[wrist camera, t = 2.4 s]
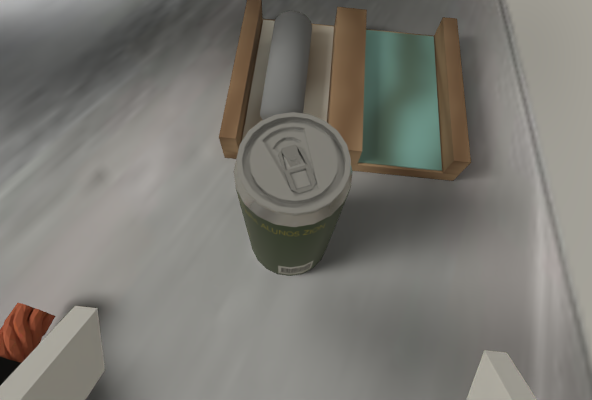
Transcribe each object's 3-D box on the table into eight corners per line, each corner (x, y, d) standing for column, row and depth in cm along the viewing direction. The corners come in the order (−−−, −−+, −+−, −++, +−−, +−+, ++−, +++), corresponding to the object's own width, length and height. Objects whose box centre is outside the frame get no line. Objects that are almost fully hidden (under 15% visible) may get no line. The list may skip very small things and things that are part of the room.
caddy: (224, 157, 30) (218, 136, 27) (250, 26, 35) (247, -2, 32) (453, 180, 30) (470, 162, 27) (443, 45, 35) (456, 18, 32)
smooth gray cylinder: (305, 127, 29) (298, 101, 26) (266, 128, 30) (254, 103, 27) (314, 40, 33) (308, 9, 30) (278, 43, 33) (269, 12, 31)
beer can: (337, 263, 27) (376, 196, 16) (264, 288, 26) (251, 236, 15) (311, 197, 29) (329, 95, 18) (242, 218, 28) (216, 125, 17)
